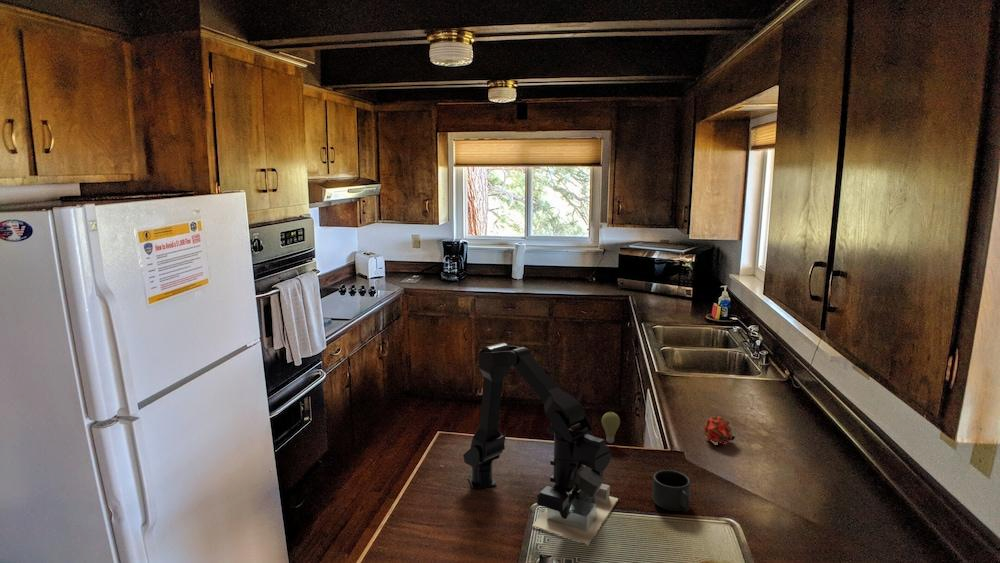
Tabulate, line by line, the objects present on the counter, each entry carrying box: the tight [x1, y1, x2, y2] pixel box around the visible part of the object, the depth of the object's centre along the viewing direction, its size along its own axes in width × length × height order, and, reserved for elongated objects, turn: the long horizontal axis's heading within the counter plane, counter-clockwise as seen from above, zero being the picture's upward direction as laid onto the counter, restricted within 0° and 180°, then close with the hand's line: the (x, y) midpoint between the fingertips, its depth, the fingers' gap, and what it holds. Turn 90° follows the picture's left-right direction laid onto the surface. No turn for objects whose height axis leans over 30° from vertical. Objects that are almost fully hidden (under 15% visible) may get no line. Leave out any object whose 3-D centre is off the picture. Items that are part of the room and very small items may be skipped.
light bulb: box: [601, 411, 621, 444], centre depth 176 cm, size 6×6×10 cm
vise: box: [531, 483, 619, 546], centre depth 139 cm, size 21×14×4 cm, turn 151°
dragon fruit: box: [703, 415, 736, 445], centre depth 177 cm, size 8×8×12 cm
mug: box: [651, 469, 692, 513], centre depth 141 cm, size 12×9×7 cm
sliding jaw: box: [546, 498, 596, 531], centre depth 136 cm, size 6×10×4 cm, turn 61°
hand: (564, 518), depth 132 cm, fingers closed
